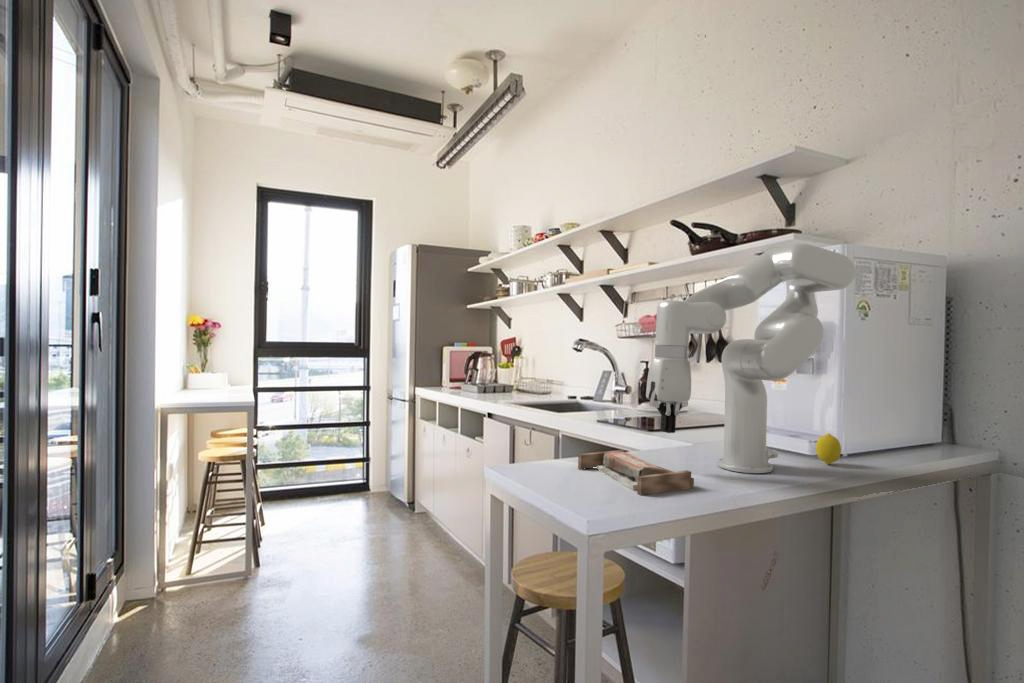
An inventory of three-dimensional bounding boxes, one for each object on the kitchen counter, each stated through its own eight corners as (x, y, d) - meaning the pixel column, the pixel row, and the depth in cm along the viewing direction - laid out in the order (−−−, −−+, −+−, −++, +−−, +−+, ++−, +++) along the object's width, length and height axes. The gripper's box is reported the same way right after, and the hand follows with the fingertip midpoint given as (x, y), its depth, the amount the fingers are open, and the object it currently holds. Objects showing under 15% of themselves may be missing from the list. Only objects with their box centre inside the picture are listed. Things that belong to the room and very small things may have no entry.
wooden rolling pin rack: (625, 463, 134) (625, 449, 134) (693, 487, 113) (694, 471, 113) (578, 468, 128) (578, 454, 128) (641, 495, 107) (641, 477, 107)
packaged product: (595, 451, 127) (632, 449, 130) (595, 471, 127) (632, 469, 130) (633, 469, 110) (675, 467, 113) (632, 493, 110) (674, 489, 113)
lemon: (840, 468, 132) (841, 436, 132) (815, 465, 135) (815, 433, 135) (840, 464, 137) (841, 433, 137) (815, 461, 140) (816, 430, 140)
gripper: (684, 354, 131) (680, 428, 131) (635, 352, 125) (631, 430, 125) (707, 355, 125) (703, 433, 125) (657, 353, 118) (653, 436, 118)
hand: (667, 431), depth 125 cm, fingers closed
